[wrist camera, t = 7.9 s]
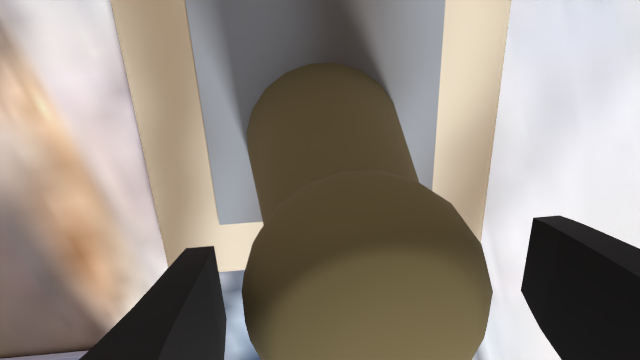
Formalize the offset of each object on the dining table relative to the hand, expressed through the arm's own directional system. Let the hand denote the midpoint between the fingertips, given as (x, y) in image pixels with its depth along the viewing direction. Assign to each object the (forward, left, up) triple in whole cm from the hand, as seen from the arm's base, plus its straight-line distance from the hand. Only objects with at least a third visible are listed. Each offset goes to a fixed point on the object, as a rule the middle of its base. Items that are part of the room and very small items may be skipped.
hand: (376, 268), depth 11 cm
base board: (0, +1, -10) cm, 10 cm away
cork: (0, 0, -9) cm, 9 cm away
